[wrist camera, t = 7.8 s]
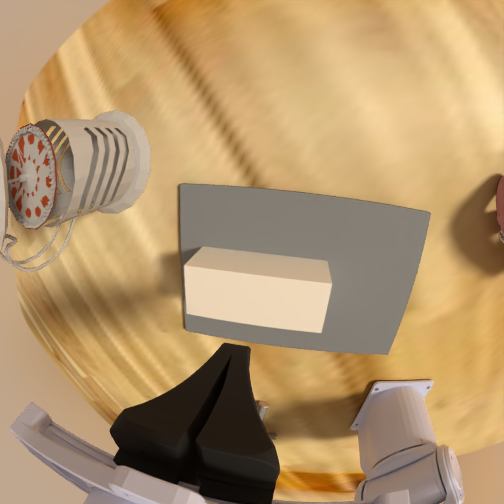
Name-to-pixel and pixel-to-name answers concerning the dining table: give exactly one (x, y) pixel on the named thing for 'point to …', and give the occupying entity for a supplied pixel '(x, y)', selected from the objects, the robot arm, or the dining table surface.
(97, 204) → the french press
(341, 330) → the slate mat
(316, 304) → the cream block
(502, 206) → the video game controller
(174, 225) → the dining table surface
